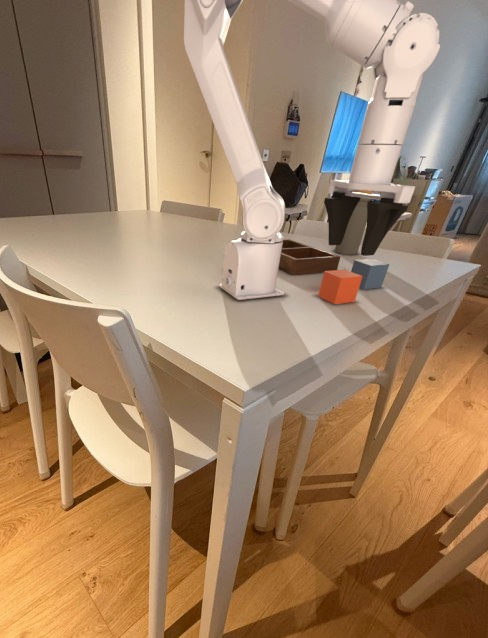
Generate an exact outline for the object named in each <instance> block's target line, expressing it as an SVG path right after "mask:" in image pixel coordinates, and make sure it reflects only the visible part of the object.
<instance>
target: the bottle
mask: <svg viewBox="0 0 488 638" xmlns="http://www.w3.org/2000/svg"><path fill="white" fill-rule="evenodd" d="M353 192H355V193H364V194H372V192H373V191H365V190H361V191H353ZM372 195H373V194H372ZM372 200H373V199H369V198H361V199H360V201H359V202H358V204H357V206H356V207H355V209H354V211H353V213H352V215H351V218H350V220H349V222H348V225H347V229H346V232H345V235H344V238H343V240H342V243H341V245H335V246H334V252H335V253H336V254H341V255H348V256H349V255H350V256H351V255H352V256H353V255H357V254H358V252H359V249H360V246H361V243H362V241H363V237H364V234H365V230H366V226H367V203H368V202H372Z"/></svg>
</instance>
